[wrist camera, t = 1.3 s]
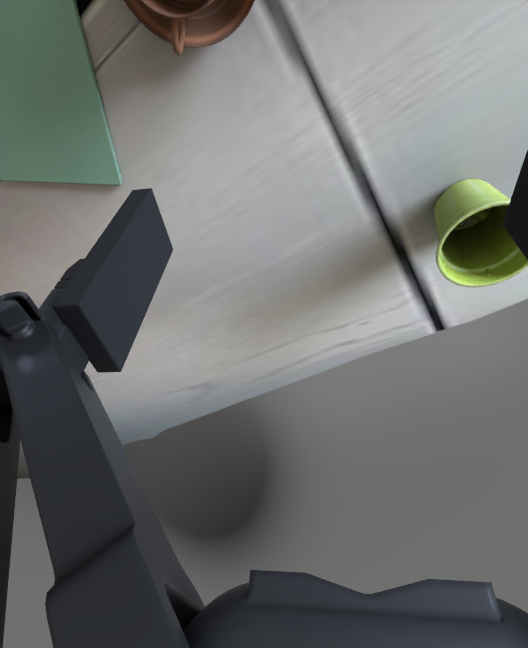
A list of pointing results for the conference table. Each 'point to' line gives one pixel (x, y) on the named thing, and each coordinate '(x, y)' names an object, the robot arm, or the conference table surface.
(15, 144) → the mat
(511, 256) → the plant pot
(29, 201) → the conference table surface
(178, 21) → the cup and saucer
